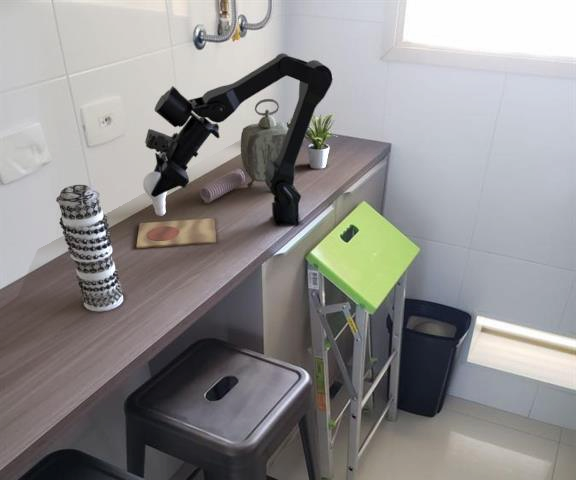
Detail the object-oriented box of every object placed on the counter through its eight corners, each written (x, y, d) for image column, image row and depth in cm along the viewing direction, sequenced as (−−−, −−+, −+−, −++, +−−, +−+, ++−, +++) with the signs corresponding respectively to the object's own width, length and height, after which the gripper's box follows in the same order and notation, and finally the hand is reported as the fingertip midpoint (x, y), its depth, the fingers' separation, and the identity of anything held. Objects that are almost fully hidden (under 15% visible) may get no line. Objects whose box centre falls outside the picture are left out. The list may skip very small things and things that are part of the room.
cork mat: (214, 219, 161) (213, 217, 160) (216, 242, 150) (215, 240, 150) (139, 224, 159) (139, 222, 158) (136, 248, 148) (136, 246, 148)
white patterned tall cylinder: (110, 315, 124) (82, 201, 108) (73, 308, 127) (41, 195, 111) (133, 294, 131) (110, 183, 115) (98, 287, 133) (70, 178, 117)
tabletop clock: (288, 180, 182) (287, 93, 166) (297, 191, 175) (297, 101, 159) (242, 186, 179) (237, 97, 163) (250, 197, 172) (246, 106, 156)
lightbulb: (178, 214, 150) (171, 171, 143) (159, 222, 146) (151, 179, 139) (163, 208, 153) (155, 166, 146) (144, 216, 149) (135, 173, 142)
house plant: (313, 154, 200) (313, 102, 190) (348, 162, 194) (350, 109, 183) (288, 166, 191) (288, 113, 181) (324, 175, 185) (325, 120, 174)
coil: (210, 190, 165) (247, 170, 177) (197, 185, 167) (234, 165, 179) (210, 205, 168) (246, 185, 180) (197, 200, 170) (234, 180, 182)
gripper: (157, 106, 142) (120, 157, 147) (166, 128, 128) (125, 184, 133) (194, 136, 149) (157, 184, 154) (206, 160, 135) (165, 213, 140)
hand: (151, 190), depth 145 cm, fingers closed on lightbulb, 6 cm apart
